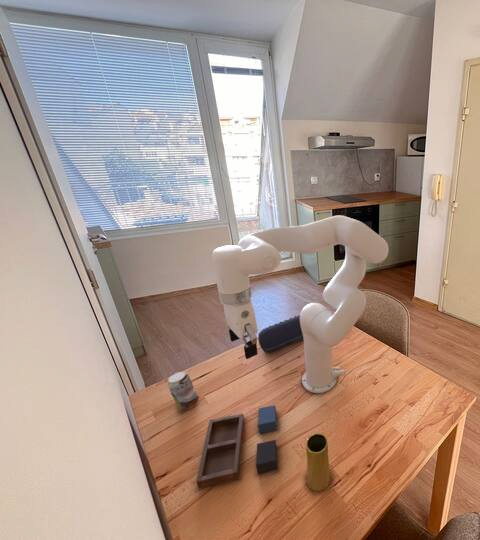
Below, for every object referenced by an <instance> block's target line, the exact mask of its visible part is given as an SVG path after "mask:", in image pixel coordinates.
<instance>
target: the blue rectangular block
mask: <svg viewBox="0 0 480 540" xmlns="http://www.w3.org/2000/svg"><path fill="white" fill-rule="evenodd" d="M257 417H258V419H257V427H258V433H259V434H260V435H261V434H266V433H270V432H275V431H277V430H278V428H277V427H278V425H277V424H278V423H277V422H278V421H277V407H276V405H275V404H273V405H269V406H263V407H259V408H258V416H257Z"/></svg>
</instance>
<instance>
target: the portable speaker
mask: <svg viewBox="0 0 480 540" xmlns="http://www.w3.org/2000/svg"><path fill="white" fill-rule="evenodd" d="M257 334H258V336H257V342H258V344H259V346H260V348H261V349H262V351H263V352H264V353H272V352H275V351H278V350H279V349H282V348H284V347H286V346H288V345H290V344H293V343H295V342H297V341H300V340H303V333H302V330H301V326H300V314H299V315H295V316H294V317H290V318H289V319H285V320H283V321H279V322H278V323H274V324H273V325H269V326H267V327H265V328H262V329H261V330H260V331H259V332H258V333H257Z"/></svg>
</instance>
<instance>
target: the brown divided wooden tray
mask: <svg viewBox="0 0 480 540" xmlns="http://www.w3.org/2000/svg"><path fill="white" fill-rule="evenodd" d="M244 428H245V416H244V413H239V414H234V415H229V416H228V415H227V416H223V417H217V418H213V419H209V422H208V426H207V430H206V434H205V435H206V436H205V439H204V445H203V450H202V453H201V458H200V463H199V467H198V471H197V476H196V480H195V481H196V486H197V488H198V490H201V489H205V488H209V487H214V486H218V485H222V484H226V483H229V482H232V481H237V480H240V470H241V462H242V461H241V458H242V450H243V438H244Z"/></svg>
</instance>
